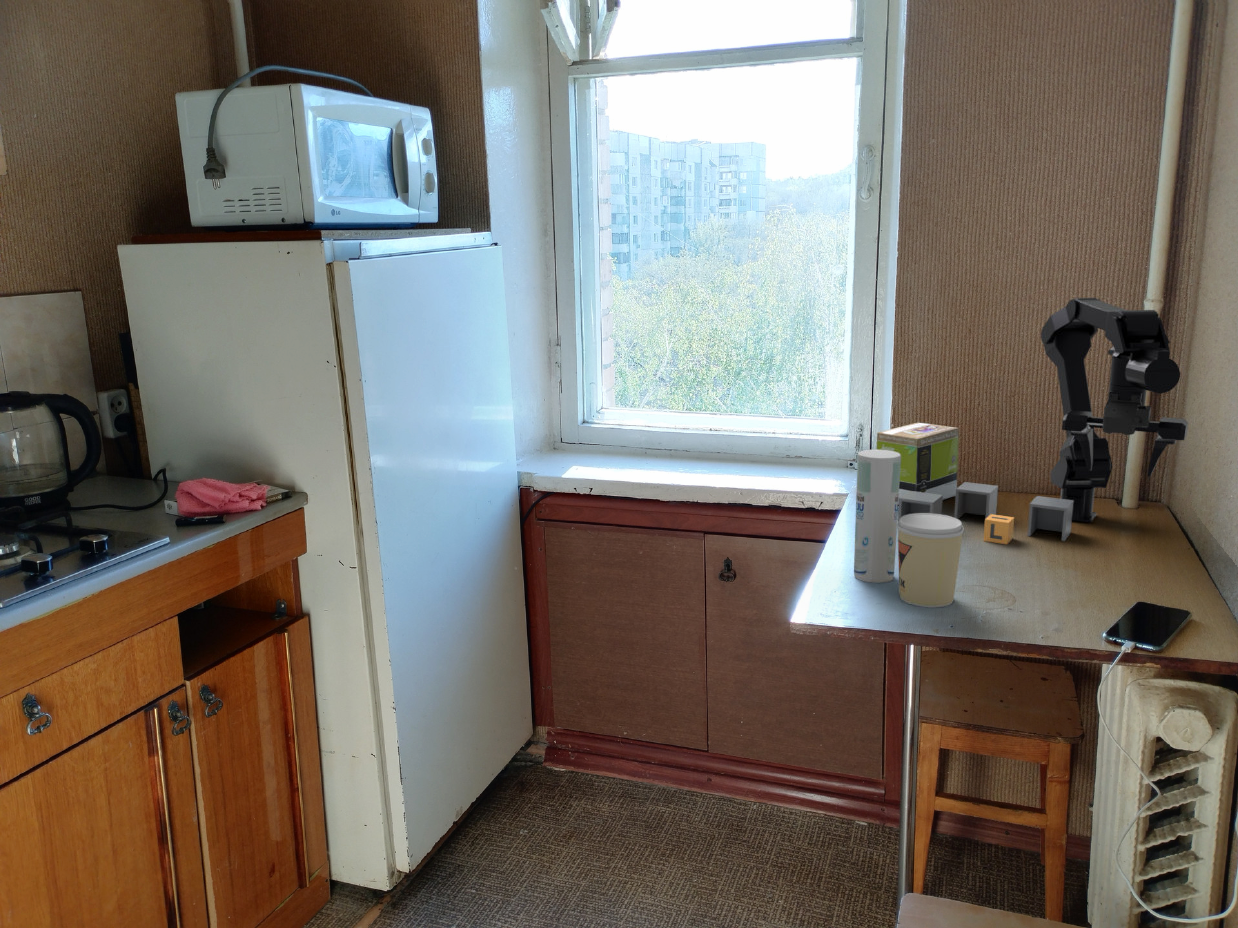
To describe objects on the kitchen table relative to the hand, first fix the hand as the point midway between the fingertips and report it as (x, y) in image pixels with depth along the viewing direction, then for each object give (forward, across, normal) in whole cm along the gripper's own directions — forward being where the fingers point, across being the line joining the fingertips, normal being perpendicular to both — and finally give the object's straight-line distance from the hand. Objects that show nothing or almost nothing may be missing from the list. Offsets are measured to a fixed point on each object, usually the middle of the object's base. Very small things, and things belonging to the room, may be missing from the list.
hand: (1118, 473), depth 168 cm
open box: (+12, -24, +2) cm, 27 cm away
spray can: (+12, -29, -40) cm, 51 cm away
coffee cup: (+12, -19, -45) cm, 51 cm away
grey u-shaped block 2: (+12, -31, -10) cm, 35 cm away
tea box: (+12, -38, +10) cm, 41 cm away
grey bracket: (+12, -10, -2) cm, 16 cm away
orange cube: (+12, -17, -10) cm, 23 cm away
